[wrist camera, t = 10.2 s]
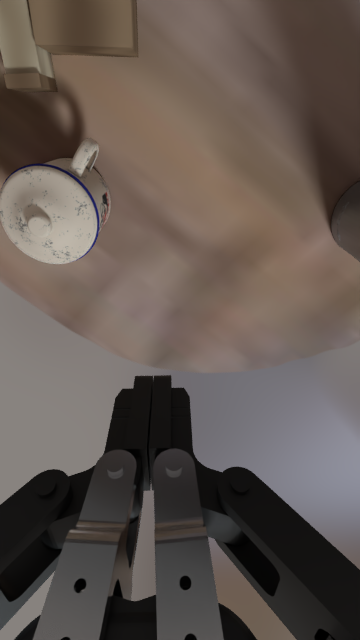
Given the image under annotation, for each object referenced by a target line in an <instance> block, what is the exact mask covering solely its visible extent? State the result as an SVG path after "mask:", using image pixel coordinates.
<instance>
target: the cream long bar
mask: <svg viewBox="0 0 360 640" xmlns="http://www.w3.org/2000/svg"><path fill="white" fill-rule="evenodd" d="M0 50H1V54H2V59H3V63H4V67H5V71H6V74H3V75H4V79H5V83H6V87H7V88H8V89H13V90H18V91H23V92H57V87H56V81H55V75H54V70H53V64H52V59H51V53H50V52H48V51H46V50H44V49H43V48H41V47H39V46H37V45H35V39H34V33H33V27H32V20H31V14H30V8H29V1H28V0H0Z"/></svg>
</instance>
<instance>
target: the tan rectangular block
mask: <svg viewBox="0 0 360 640" xmlns="http://www.w3.org/2000/svg"><path fill="white" fill-rule="evenodd" d="M28 1H29V8H30V14H31V20H32V27H33V33H34V39H35V45H37V46H39V47H41V48H43V49H44V50H46V51H48V52H50V53H52V54H53V55H84V56H115V57H138V32H137V2H136V0H28Z"/></svg>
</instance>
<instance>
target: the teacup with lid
mask: <svg viewBox="0 0 360 640" xmlns="http://www.w3.org/2000/svg"><path fill="white" fill-rule="evenodd" d="M98 152H99V145H98V143H97V142H96V141H94V140H93V139H91V138H87V139H85V140H84V141H83V142H82V143H81V145H80V146H79V148H78V149H77V151H76V153H75V155H74V157H73V159H72V158H60V159H56V160H53V161H49V162H46V163H43V164H31V165H27V166H24V167H21V168H19V169H17V170H16V171H14V172H13V173H12V174H11V175H10V176H9V177H8V178H7V179H6V181H5V182H4V184H3V186H2V188H1V191H0V220H1V223H2V226H3V228H4V230H5V232H6V234H7V235H8V237H9V238H10V240H11V241H12V242H13V243H14V244H15V245H16V246H17V247H18V248H19V249H20V250H21V251H22V252H24V253H25V254H27V255H28V256H30V257H32V258H34V259H36V260H39V261H42V262H45V263H50V264H64V263H70V262H73V261H76V260H78V259H80V258H82V257H83V256H84V255H86V254H87V253H88V252H89V251H90V250H91V248H92V247H93V245H94V244H95V242H96V239H97V237H98V233H99V232H100V230H101V229H102V227H103V226H104V224H105V223H106V221H107V219H108V217H109V214H110V208H111V200H110V194H109V191H108V188H107V186H106V184H105V182H104V180H103V179H102V177H101V176H100V175H99V173H98V172H97V171H96V170H95V169H93V168H92V167H93V165H94V163H95V160H96V158H97V155H98Z"/></svg>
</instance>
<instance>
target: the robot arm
mask: <svg viewBox="0 0 360 640" xmlns="http://www.w3.org/2000/svg"><path fill="white" fill-rule="evenodd" d="M331 229H332V234H333V237H334V240H335V241H336V242H337V244H338V245H339V246H340V247H341V248H343V249H344V250H345V251H347V252H348V253H349V254H351V255H352V256H353V257H354V258H355V259H357V260H358V261H359V262H360V181H359V182H357V183H356V184H354V185H353V186H352V187H351V188H349V189H348V190H347V191H346V192H345V193H344V195H343V196H342V197H341V199H340V200H339V201H338V203H337V205H336V207H335V209H334V212H333V215H332V221H331ZM150 484H152V490H154V509H155V510H154V511H155V512H154V514H155V571H156V572H155V573H156V595H154V596H151V597H148V598H145V599H142V600H140V601H131V594H132V576H133V567H134V560H135V554H136V547H137V541H138V534H139V528H140V521H141V515H142V505H143V491H145V490H146V491H147V490H150ZM208 537H211V538H214V539H215V540H216V542H217V544H218V545H219V547H220V548H221V549H222V550H223V551H224V553H225V554H226V555H227V556H228V557H229V559H230V560H231V561H232V562H233V563H234V565H235V566H236V567H237V568H238V569H239V571H240V572H241V573H242V574H243V575H244V577H245V578H246V579H247V580H248V581H249V582H250V584H251V585H252V586H253V587H254V589H255V590H256V591H257V592H258V593H259V595H260V596H261V597H262V598H263V600H264V601H265V602H266V603H267V604H268V606H269V607H270V608H271V609H272V610H273V612H274V613H275V614H276V615H277V616H278V617H279V619H280V620H281V621H282V622H283V624H284V625H285V626H286V627H287V628H288V630H289V631H290V632H291V633H292V635H293V636H294V637H295V638H296V639H297V640H360V570H359V569H358V568H357V567H356V566H355V565H354V564H353V563H352V562H351V561H349V560H348V559H347V558H346V557H345V556H344V555H343V554H342V553H341V552H340V551H338V550H337V549H336V548H335V547H334V546H333V545H332V544H331V543H330V542H328V541H327V540H326V539H325V538H324V537H323V536H322V535H321V534H319V532H318V531H316V530H315V529H314V528H313V527H312V526H311V525H310V524H309V523H308V522H307V521H305V520H304V519H303V518H302V517H301V516H300V515H299V514H298V513H297V512H295V511H294V510H293V509H292V508H291V507H290V506H289V505H288V504H287V503H286V502H285V501H283V500H282V499H281V498H280V497H279V496H278V495H277V494H276V493H275V492H274V491H273V490H271V489H270V488H269V487H268V486H267V485H266V484H265V483H264V482H262V480H260V479H259V478H258V477H257V476H256V475H255V474H254V473H252V472H251V471H249V470H248V469H245V468H242V467H231V468H228V469H226V470H225V471H223V472H219V471H216V470H213V469H210V468H207V467H205V466H204V465H202V464H201V463H200V462H199V461H198V460H197V459H196V457H195V455H194V453H193V446H192V429H191V413H190V398H189V395H188V394H187V392H186V390H185V389H184V388H172V387H171V375H169V376H168V375H167V376H154V382H153V376H135V381H134V388H133V389H122V390H121V392H120V393H119V394H118V396H117V397H116V398H115V403H114V409H113V413H112V419H111V423H110V428H109V432H108V437H107V442H106V447H105V451H104V454H103V456H102V457H101V458H100V459H99V460H98V461H97V463H96V465H95V466H93V467H92V468H90V469H89V470H86V471H84V472H81V473H78V474H75V475H72V476H67V475H66V474H65V473H64V472H63V471H60V470H55V469H53V470H47V471H44V472H42V473H40V474H38V475H36V476H35V477H34V478H33V479H31V480H30V481H29V482H28V483H26V484H25V485H24V486H23V487H22V488H20V489H19V490H18V491H17V492H16V493H14V494H13V495H12V496H11V497H9V498H8V499H7V500H6V501H5V502H3V503H2V504H1V505H0V630H1V629H2V628H3V626H4V625H5V624H6V623H7V622H8V621H9V620H10V619H11V618H12V617H13V616H14V615H15V613H16V612H17V611H18V610H19V609H20V608H21V607H22V606H23V605H24V604H25V602H26V601H27V600H28V599H29V598H30V597H31V596H32V595H33V594H34V593H35V592H36V591H37V590H38V588H39V587H40V586H41V585H42V584H43V583H44V582H45V581H46V580H47V579H48V578H49V577H50V575H51V574H52V573H53V572H54V571H55V573H54V576H53V579H52V582H51V585H50V588H49V592H48V594H47V597H46V601H45V604H44V607H43V610H42V613H41V615H40V616H38V617H37V618H36V619H35V620H33V621H32V622H31V623H30V624H29V625H28V626H27V627H26V628H24V629H23V631H21V633H20V634H19V635H18V636H17V637H16V639H15V640H257V639H256V638H255V636H254V635H253V633H252V632H251V631H250V629H249V628H248V627H247V626H246V624H245V623H244V622H243V621H242V620H241V619H240V618H239V617H238V616H237V615H236V614H235V613H234V612H232V611H231V610H230V609H228V608H227V607H225V606H224V605H222V604H220V603H218V600H217V593H216V586H215V580H214V574H213V567H212V561H211V554H210V547H209V542H208Z"/></svg>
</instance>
